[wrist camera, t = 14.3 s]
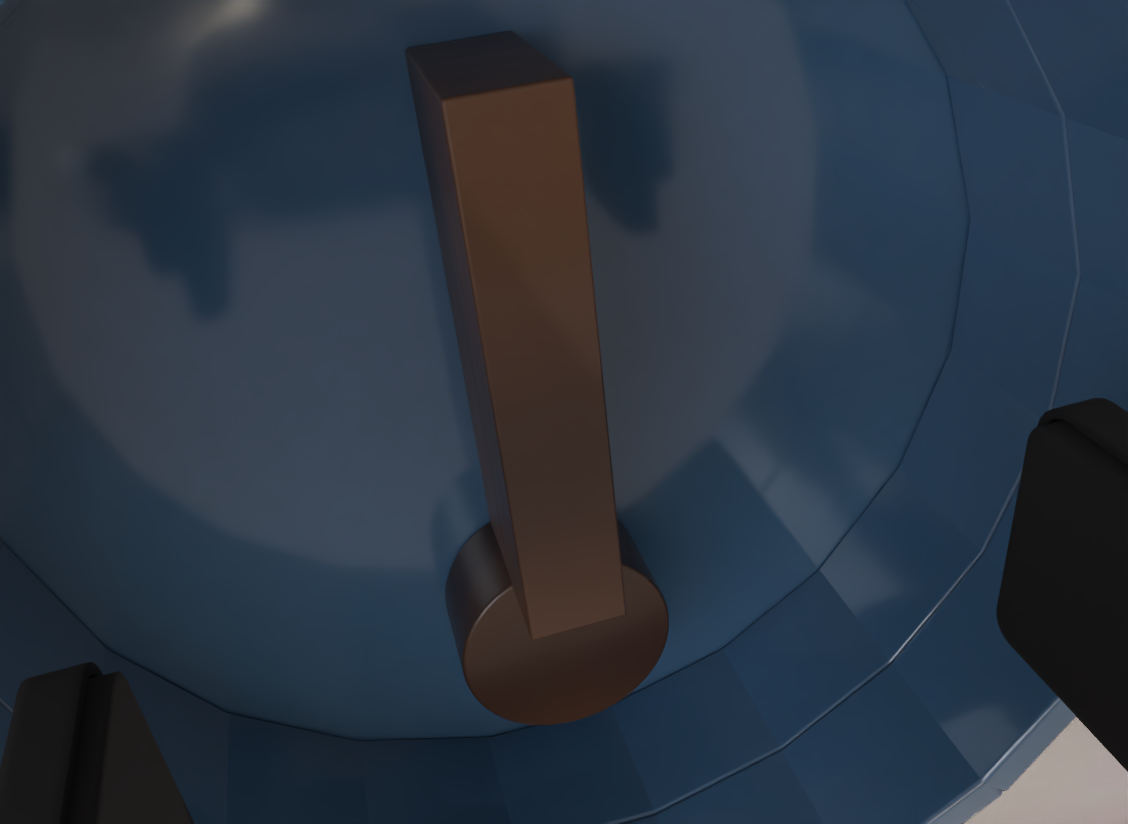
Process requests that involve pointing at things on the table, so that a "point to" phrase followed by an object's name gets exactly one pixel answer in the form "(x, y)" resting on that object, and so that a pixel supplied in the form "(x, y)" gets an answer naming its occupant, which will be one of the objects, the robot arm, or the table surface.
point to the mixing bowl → (631, 383)
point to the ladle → (530, 391)
